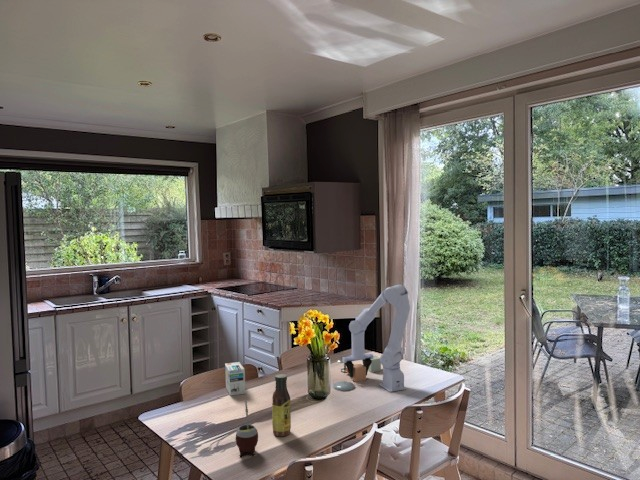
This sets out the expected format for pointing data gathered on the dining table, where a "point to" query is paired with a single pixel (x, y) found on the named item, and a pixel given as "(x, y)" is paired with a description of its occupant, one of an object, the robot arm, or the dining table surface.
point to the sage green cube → (375, 364)
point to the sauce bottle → (281, 407)
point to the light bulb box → (235, 378)
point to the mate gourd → (246, 437)
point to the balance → (344, 366)
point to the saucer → (343, 386)
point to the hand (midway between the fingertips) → (358, 376)
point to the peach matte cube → (359, 372)
